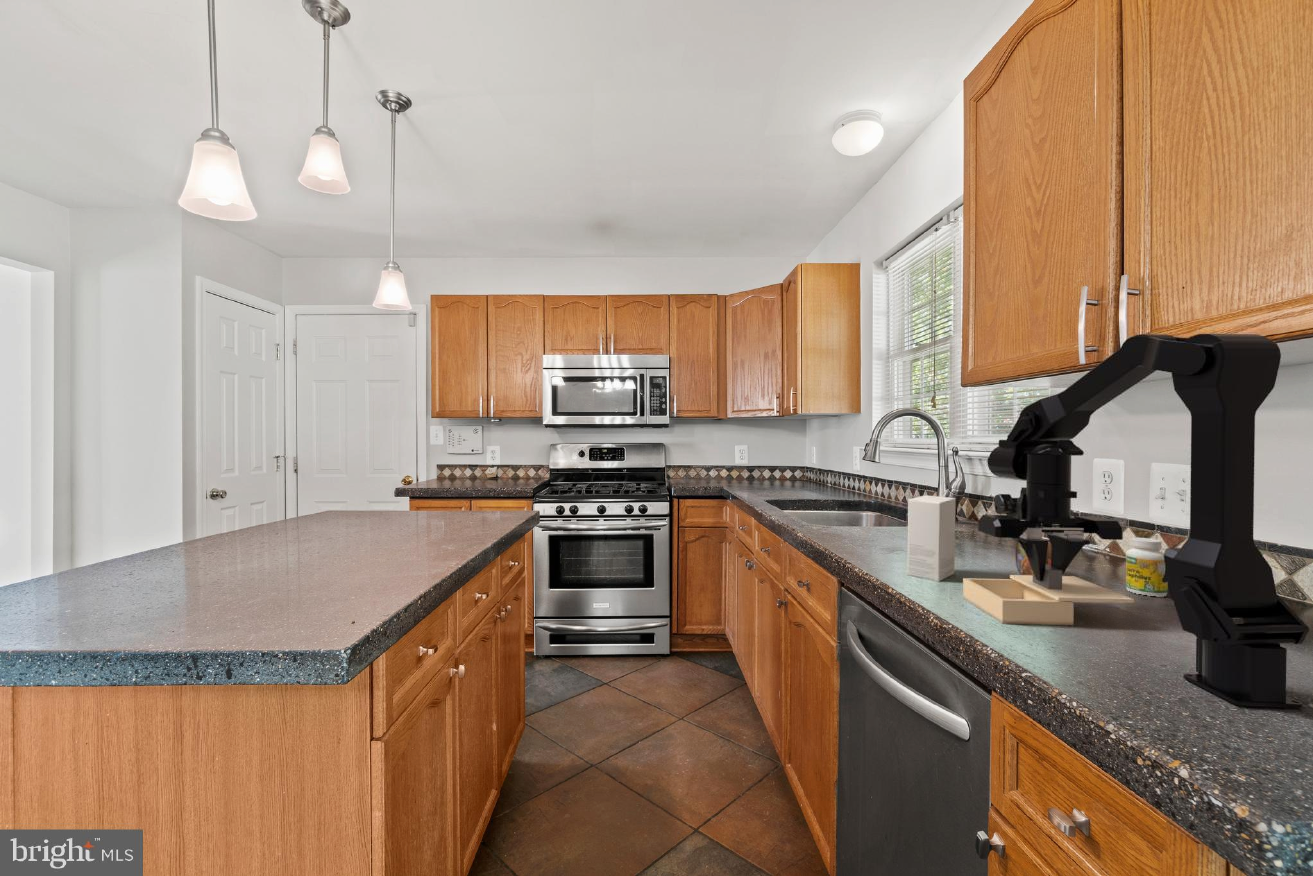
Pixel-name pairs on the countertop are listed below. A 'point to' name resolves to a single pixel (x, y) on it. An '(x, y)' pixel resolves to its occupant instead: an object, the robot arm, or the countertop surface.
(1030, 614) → the carton
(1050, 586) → the carton lid
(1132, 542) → the supplement bottle
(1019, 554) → the tin
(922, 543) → the skincare box
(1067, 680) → the countertop surface
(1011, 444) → the robot arm
